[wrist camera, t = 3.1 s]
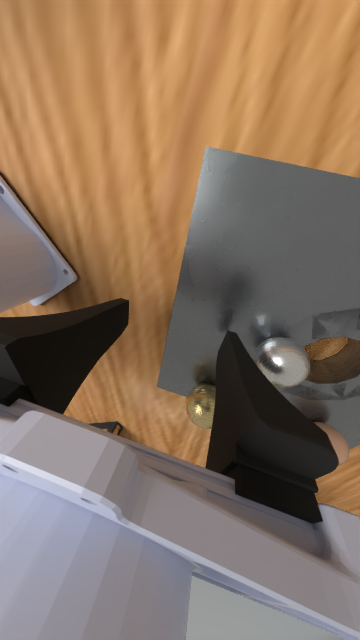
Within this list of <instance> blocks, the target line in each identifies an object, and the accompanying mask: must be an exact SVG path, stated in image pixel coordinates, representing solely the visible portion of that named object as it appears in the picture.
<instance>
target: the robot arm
mask: <svg viewBox="0 0 360 640" xmlns="http://www.w3.org/2000/svg"><path fill="white" fill-rule="evenodd" d="M67 271H68V272H67ZM76 280H77V275H76V274H75V272H74V271H73V270H72V268H71V267H70V266H69V265H68V263H67V262H66V261H65V259H64V258H63V257H62V255H61V254H60V253H59V251H58V250H57V249H56V248H55V246H54V245H53V244H52V242H51V241H50V240H49V238H48V237H47V236H46V234H45V233H44V232H43V231H42V229H41V228H40V227H39V225H38V224H37V223H36V221H35V220H34V219H33V217H32V216H31V215H30V214H29V212H28V211H27V210H26V208H25V207H24V206H23V204H22V203H21V202H20V200H19V199H18V198H17V197H16V195H15V194H14V193H13V191H12V190H11V189H10V187H9V186H8V185H7V183H6V182H5V181H4V180H3V178H2V177H1V176H0V313H2V312H4V311H7V310H9V309H11V308H14V307H16V306H18V305H21V304H23V303H25V302H28V301H29V302H30V303H31V304H32V305H33V306H38V305H40V304H42V303H43V302H45V301H46V300H48V299H49V298H51V297H52V296H54V295H55V294H56V293H58V292H59V291H61V290H62V289H64V288H65V287H67V286H68V285H70V284H71V283H73V282H74V281H76ZM128 320H129V300H126V299H122V298H120V299H116V300H112V301H109V302H105V303H102V304H98V305H95V306H91V307H87V308H83V309H79V310H75V311H70V312H64V313H58V314H50V315H41V316H29V317H0V640H186V630H187V620H188V609H189V599H190V588H191V578H192V576H195V577H197V578H199V579H202V580H204V581H207V582H209V583H212V584H214V585H216V586H219V587H221V588H224V589H226V590H229V591H231V592H233V593H236V594H238V595H241V596H243V597H246V598H248V599H250V600H253V601H255V602H258V603H260V604H263V605H265V606H267V607H270V608H272V609H275V610H277V611H279V612H282V613H284V614H287V615H289V616H291V617H294V618H296V619H298V620H301V621H303V622H306V623H308V624H310V625H313V626H315V627H317V628H320V629H322V630H325V631H327V632H329V633H331V634H334V635H336V636H338V637H341V638H343V639H345V640H360V518H359V517H358V516H357V515H355V514H352V513H349V512H347V511H344V510H341V509H339V508H336V507H333V506H331V505H327V504H321V503H317V500H316V497H315V494H314V493H317V492H318V487H317V484H316V481H315V479H317V478H319V477H321V476H324V475H326V474H328V473H330V472H332V471H334V470H335V469H336V468H337V466H338V464H339V458H338V456H337V454H336V452H335V450H334V448H333V445H332V443H331V441H330V439H329V437H328V435H327V433H326V432H325V431H323V430H322V429H321V428H320V427H319V426H317V425H316V424H315V423H314V422H312V421H311V420H310V419H309V418H307V417H306V416H305V415H304V414H303V413H301V412H300V411H299V410H298V409H297V408H296V407H295V406H294V405H293V404H291V403H290V402H289V401H288V400H287V399H286V398H285V397H284V396H283V395H282V394H281V393H280V392H279V391H278V390H277V389H276V388H275V387H274V386H273V384H272V383H271V382H270V381H269V380H268V379H267V378H266V376H265V375H264V374H263V373H262V372H261V370H260V369H259V368H258V366H257V365H256V364H255V362H254V361H253V359H252V358H251V356H250V355H249V353H248V352H247V350H246V348H245V347H244V345H243V343H242V342H241V340H240V338H239V336H238V335H237V333H235V332H232V331H229V330H227V333H226V335H225V337H224V339H223V341H222V344H221V346H220V348H219V350H218V354H217V360H216V395H215V406H214V415H213V422H212V430H211V436H210V443H209V450H208V456H207V462H206V468H203V467H200V466H198V465H195V464H192V463H190V462H187V461H184V460H182V459H179V458H176V457H174V456H171V455H168V454H166V453H163V452H161V451H158V450H155V449H153V448H150V447H147V446H145V445H142V444H139V443H137V442H134V441H131V440H129V439H126V438H123V437H121V436H118V435H115V434H113V433H110V432H107V431H105V430H102V429H100V428H97V427H94V426H92V425H89V424H86V423H84V422H81V421H78V420H76V419H73V418H70V417H68V416H65V415H63V413H64V411H65V410H66V408H67V406H68V405H69V403H70V401H71V400H72V398H73V397H74V395H75V393H76V392H77V390H78V389H79V387H80V386H81V384H82V383H83V381H84V380H85V378H86V377H87V375H88V374H89V372H90V371H91V370H92V368H93V367H94V365H95V364H96V363H97V361H98V360H99V359H100V358H101V356H102V355H103V354H104V353H105V352H106V351H107V350H108V349H109V347H110V346H111V345H112V344H113V343H114V342H115V341H116V340H117V339H118V337H119V336H120V335H121V334H122V333H123V331H124V330H125V328H126V327H127V325H128Z"/></svg>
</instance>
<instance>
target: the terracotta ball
mask: <svg viewBox="0 0 360 640" xmlns="http://www.w3.org/2000/svg"><path fill="white" fill-rule="evenodd" d="M314 423H315V424H316V425H317V426H319V427H320V428H321V429H322V430H323V431H325V432H326V433H327V435H328V437H329V439H330V441H331V443H332V445H333V448H334V450H335V452H336V454H337V456H338V458H339V464H338V465H340V464H343V463H344V462H345V461H346V460H347V459H348V456H349V447H348V444H347V442H346V440H345V438H344V437H343V436H342V434H341V433H340V432H339V431H338V430H337V429H335V428H334V427H332V426H330V425H329V424H326V423H323V422H314Z"/></svg>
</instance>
